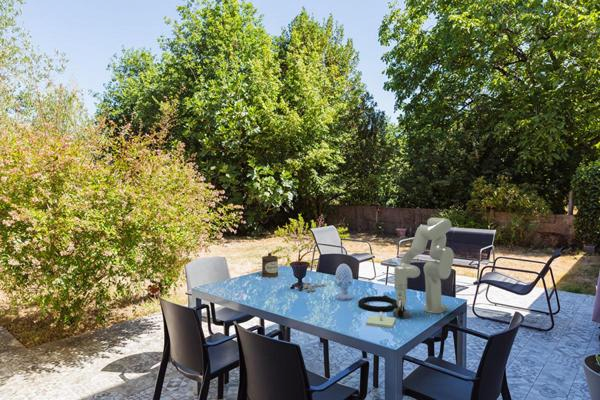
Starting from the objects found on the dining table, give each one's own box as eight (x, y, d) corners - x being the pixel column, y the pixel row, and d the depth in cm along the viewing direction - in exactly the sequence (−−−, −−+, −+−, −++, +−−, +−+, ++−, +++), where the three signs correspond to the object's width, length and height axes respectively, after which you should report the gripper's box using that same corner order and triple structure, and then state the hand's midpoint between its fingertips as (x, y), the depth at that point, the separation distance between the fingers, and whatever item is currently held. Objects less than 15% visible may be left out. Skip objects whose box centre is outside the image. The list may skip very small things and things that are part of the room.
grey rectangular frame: (409, 315, 233) (409, 309, 233) (408, 318, 228) (408, 312, 228) (394, 313, 237) (394, 308, 237) (393, 316, 231) (393, 311, 231)
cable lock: (351, 303, 249) (367, 292, 275) (351, 309, 249) (367, 297, 275) (392, 309, 235) (405, 297, 261) (392, 315, 235) (405, 302, 261)
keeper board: (395, 320, 225) (395, 309, 225) (392, 328, 212) (392, 316, 212) (371, 317, 230) (370, 307, 230) (366, 325, 217) (365, 314, 217)
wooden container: (267, 278, 343) (266, 254, 342) (259, 275, 355) (259, 252, 355) (280, 276, 351) (280, 252, 350) (273, 273, 363) (272, 251, 363)
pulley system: (296, 292, 297) (312, 293, 290) (295, 286, 297) (312, 287, 290) (312, 285, 321) (328, 286, 313) (312, 280, 321) (328, 281, 313)
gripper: (405, 290, 223) (405, 320, 223) (408, 283, 238) (409, 311, 239) (392, 289, 225) (393, 318, 226) (396, 282, 241) (397, 310, 242)
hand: (401, 314), depth 232 cm, fingers closed on grey rectangular frame, 6 cm apart
